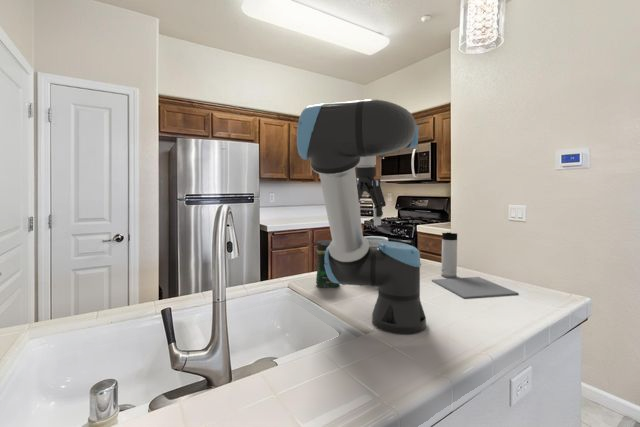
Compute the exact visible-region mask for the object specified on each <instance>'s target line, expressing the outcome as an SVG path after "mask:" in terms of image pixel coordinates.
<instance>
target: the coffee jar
mask: <svg viewBox="0 0 640 427" xmlns="http://www.w3.org/2000/svg"><path fill="white" fill-rule="evenodd" d="M331 241H332V239H327V240H326V239H325V240H317V244H316V254H317V268H316V271H317V272H316V279H315V283H316V286H317V287H320V288H334V287H335V288H336V287H338V286H340V285H341V284H338V283H333V282H331V281H330V280H329V278H328V276H327V274H326V270H325V252H326V249H327V247H328V246H329V245H330V243H331Z"/></svg>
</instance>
